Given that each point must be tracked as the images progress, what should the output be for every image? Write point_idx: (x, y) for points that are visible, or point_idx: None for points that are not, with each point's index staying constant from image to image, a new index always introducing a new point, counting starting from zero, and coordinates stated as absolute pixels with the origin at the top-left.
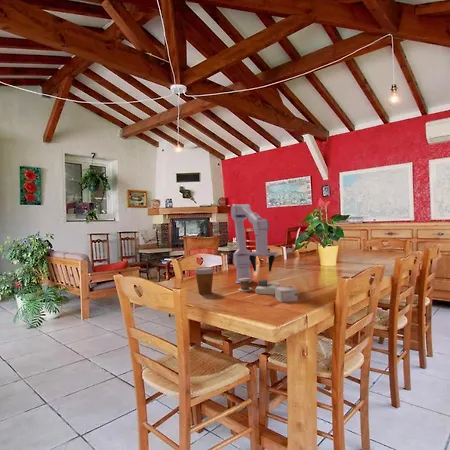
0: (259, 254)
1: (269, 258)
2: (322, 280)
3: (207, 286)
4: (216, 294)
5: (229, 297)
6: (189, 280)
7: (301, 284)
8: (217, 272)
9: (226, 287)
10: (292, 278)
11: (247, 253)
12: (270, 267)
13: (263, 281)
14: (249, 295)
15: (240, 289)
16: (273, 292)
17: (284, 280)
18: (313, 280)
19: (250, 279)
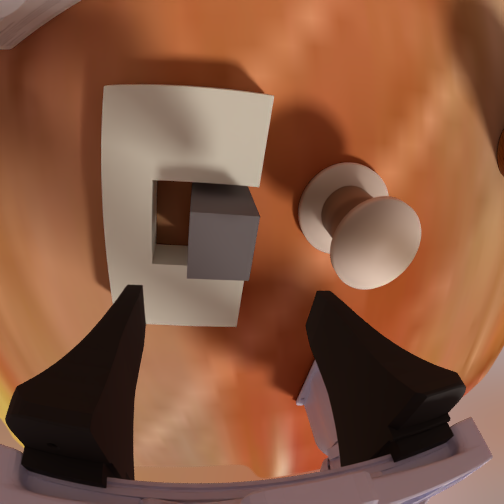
0: (341, 480)
1: (69, 406)
2: None
3: None
4: (481, 102)
5: (421, 12)
6: (497, 346)
7: (44, 359)
8: None
9: (431, 266)
10: None
11: (487, 449)
12: (109, 309)
13: (210, 212)
14: (306, 41)
15: (376, 192)
16: (118, 84)
17: (147, 418)
18: None
19: (335, 242)
